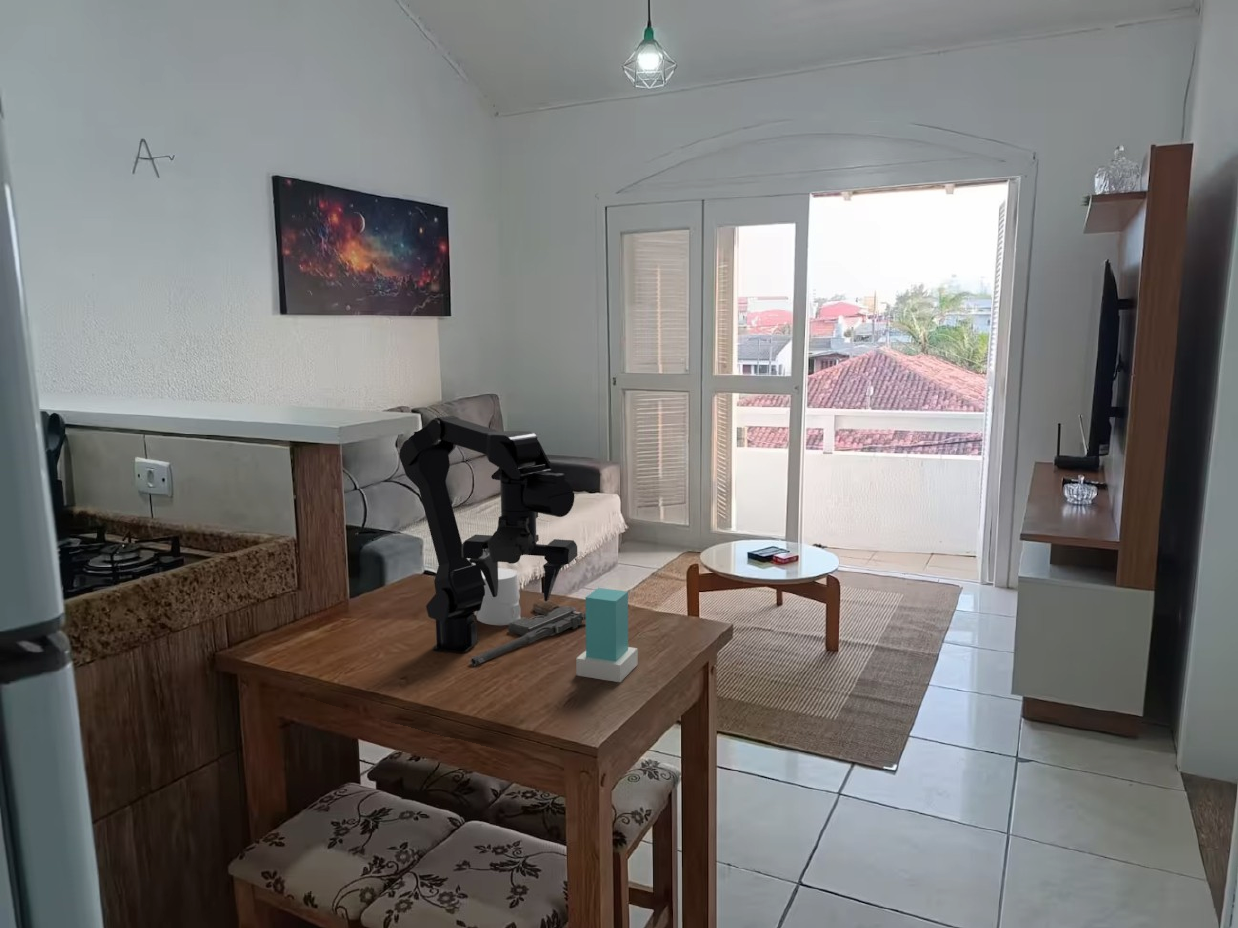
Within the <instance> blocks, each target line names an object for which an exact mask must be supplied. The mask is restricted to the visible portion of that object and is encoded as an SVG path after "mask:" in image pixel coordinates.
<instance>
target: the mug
mask: <svg viewBox="0 0 1238 928" xmlns="http://www.w3.org/2000/svg"><path fill="white" fill-rule="evenodd" d="M481 573H482V571H481ZM482 577H483V580H484V582H485V584H486V585H484V588H485V596H484V597H483V601H482V605H481V609H480V611H475V612H474V615H475V616H476V621H478V622H480V623H482V624H485V625H490V626H509V623H511V622H513V621H516V620H518V619H521V618H522V617H521V614H522V613H521V612H522V608H521V607H522V606H521V604H520V602H519V601H520V598H521V597H520V587H519V578H518V577H519V576H518V572H517V571H516V570H515V569H512V568H511V569H510V568H504V567H498V594H497V596H496V597H493V596H492V593H491V591H490V588H489V586H488V584H487V581H486V579H485V576H484V574H483V573H482Z"/></svg>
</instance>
